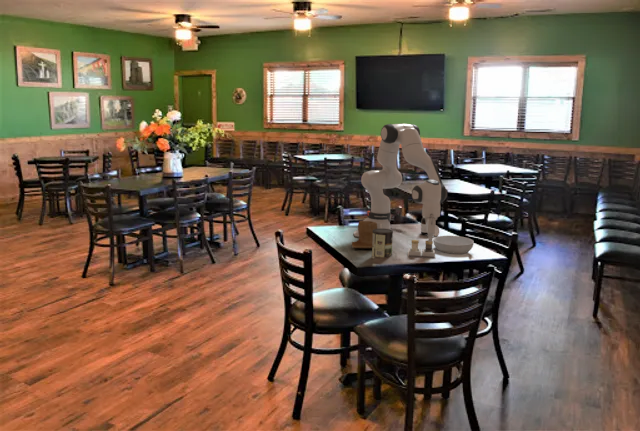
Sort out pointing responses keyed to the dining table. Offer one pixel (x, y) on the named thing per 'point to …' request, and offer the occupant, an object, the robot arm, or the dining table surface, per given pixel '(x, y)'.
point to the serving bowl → (453, 244)
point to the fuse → (415, 245)
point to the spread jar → (424, 229)
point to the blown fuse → (428, 246)
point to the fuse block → (421, 254)
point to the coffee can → (382, 243)
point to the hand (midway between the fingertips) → (429, 239)
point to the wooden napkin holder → (365, 234)
